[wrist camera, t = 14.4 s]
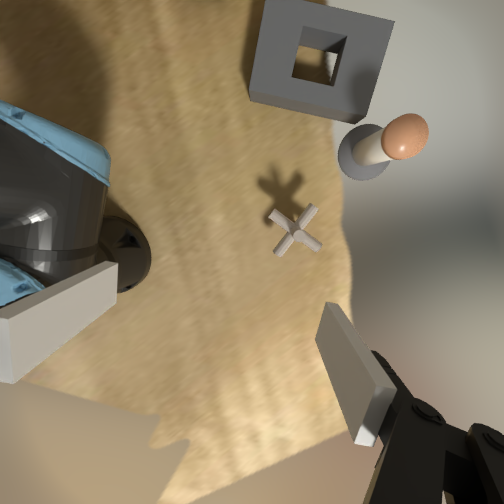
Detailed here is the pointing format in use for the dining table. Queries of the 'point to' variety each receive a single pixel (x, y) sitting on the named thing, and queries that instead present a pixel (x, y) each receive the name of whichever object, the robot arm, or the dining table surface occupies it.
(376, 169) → the grey round plate
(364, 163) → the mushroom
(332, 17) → the grey flat block
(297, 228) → the pipe connector
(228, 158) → the dining table surface
